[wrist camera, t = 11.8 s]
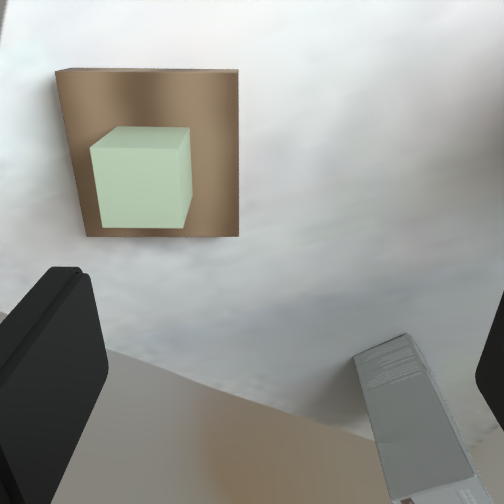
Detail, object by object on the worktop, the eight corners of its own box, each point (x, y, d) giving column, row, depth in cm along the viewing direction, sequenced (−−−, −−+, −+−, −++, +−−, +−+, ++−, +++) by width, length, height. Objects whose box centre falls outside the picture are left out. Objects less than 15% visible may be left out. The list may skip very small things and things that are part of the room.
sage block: (189, 127, 29) (177, 148, 24) (192, 195, 32) (182, 228, 26) (117, 126, 29) (89, 147, 24) (125, 194, 31) (102, 227, 26)
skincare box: (436, 380, 45) (523, 536, 31) (375, 405, 47) (432, 565, 33) (407, 327, 42) (491, 476, 28) (342, 356, 43) (391, 511, 29)
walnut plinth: (238, 69, 30) (237, 73, 28) (238, 221, 36) (238, 236, 33) (71, 67, 30) (54, 71, 27) (98, 221, 36) (86, 236, 33)
